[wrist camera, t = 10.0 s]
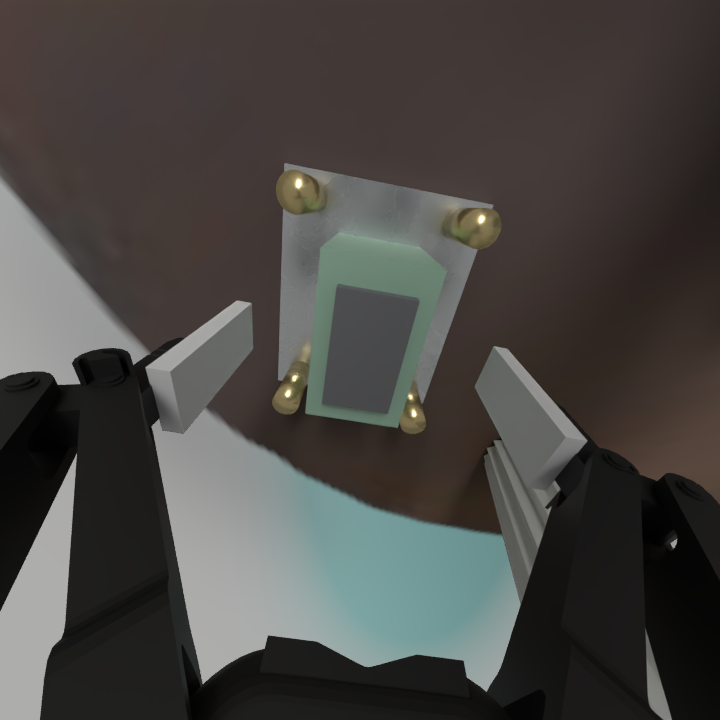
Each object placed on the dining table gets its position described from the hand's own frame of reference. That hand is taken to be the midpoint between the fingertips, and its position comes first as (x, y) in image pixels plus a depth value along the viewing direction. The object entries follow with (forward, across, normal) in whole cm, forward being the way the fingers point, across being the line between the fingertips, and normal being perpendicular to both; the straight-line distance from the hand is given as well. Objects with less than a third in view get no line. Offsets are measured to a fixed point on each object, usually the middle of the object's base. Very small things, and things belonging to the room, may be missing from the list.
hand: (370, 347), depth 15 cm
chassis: (+9, 0, -1) cm, 9 cm away
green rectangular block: (+8, 0, 0) cm, 8 cm away
